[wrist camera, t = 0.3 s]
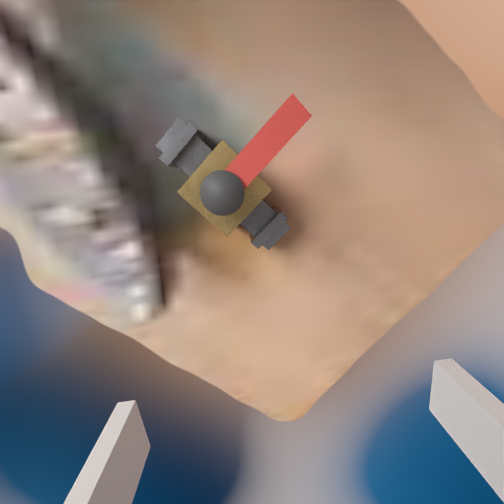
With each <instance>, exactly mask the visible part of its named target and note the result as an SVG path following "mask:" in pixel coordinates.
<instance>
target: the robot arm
mask: <svg viewBox="0 0 504 504" xmlns="http://www.w3.org/2000/svg"><path fill="white" fill-rule="evenodd" d="M429 409H430V411H431V412H432V413H433V415H434V416H435V417H436V418H437V420H438V421H439V422H440V423H441V425H442V426H443V427H444V428H445V430H446V431H447V432H448V433H449V435H450V436H451V437H452V438H453V440H454V441H455V442H456V443H457V444H458V446H459V447H460V448H461V450H462V451H463V452H464V453H465V455H466V456H467V457H468V458H469V459H470V461H471V462H472V463H473V465H474V466H475V467H476V468H477V470H478V471H479V472H480V473H481V474H482V476H483V477H484V478H485V480H486V481H487V482H488V483H489V485H490V486H491V487H492V488H493V490H494V491H495V492H496V493H497V495H498V496H499V497H500V498H501V500H502V501H503V502H504V404H503V403H502V402H501V401H499V400H498V399H497V398H496V397H495V396H494V395H493V394H492V393H490V392H489V391H488V390H487V389H486V388H485V387H484V386H482V385H481V384H480V383H479V382H478V381H477V380H475V379H474V378H473V377H472V376H471V375H470V374H469V373H468V372H466V371H465V370H464V369H463V368H462V367H461V366H459V365H458V364H457V363H456V362H455V361H454V360H453V359H444V360H436V361H434V368H433V377H432V387H431V397H430V406H429ZM149 449H150V444H149V440H148V438H147V434H146V431H145V428H144V425H143V423H142V419H141V416H140V413H139V410H138V407H137V404H136V401H135V400H134V401H126V402H119V403H117V405H116V407H115V409H114V411H113V413H112V414H111V416H110V418H109V420H108V422H107V424H106V426H105V428H104V429H103V431H102V433H101V435H100V437H99V439H98V441H97V443H96V444H95V446H94V448H93V450H92V452H91V454H90V456H89V457H88V459H87V461H86V463H85V465H84V467H83V468H82V470H81V472H80V474H79V476H78V478H77V480H76V482H75V483H74V485H73V487H72V489H71V491H70V493H69V495H68V497H67V498H66V500H65V502H64V504H132V501H133V498H134V495H135V492H136V488H137V486H138V482H139V480H140V477H141V474H142V470H143V468H144V464H145V461H146V458H147V455H148V452H149Z"/></svg>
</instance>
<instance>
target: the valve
mask: <svg viewBox="0 0 504 504" xmlns="http://www.w3.org/2000/svg"><path fill="white" fill-rule="evenodd" d="M204 137H205V136H204V135H203V134H202V133H201V132H200V131H199V130H198V129H197V128H196V127H195V126H194V125H193V124H192V123H191V122H190V121H189V122H188V123H187V124H185V123H184V122H183V121H181V120H180V119H179V118H177V120H176V121H175V122H174V123H173V125H172V126H171V127H170V128H169V130H168V131H167V132H166V133H165V135H164V136H163V137H162V138H161V140H160V141H159V142H158V143H157V145H156V147H158V148H159V149H160V150H161V151H162V152H163V154H162V155H161V156H160V158H159V159H160V160H161V161H163V162H164V163H165V164H166V165H167V166H170V167H178V168H180V169H181V170H182V171H183V172H185V173H186V174H187V175H188V176H189V177H190V178H189V179H188V180H187V181H186V182H185V184H184V185H183V186H182V187H181V188H180V189H179V191H178V192H177V193H179V194H180V195H181V196H182V197H183V198H184V199H185V200H186V201H187V202H189V203H190V204H191V205H192V206H193V207H194V208H195V209H196V210H198V211H199V212H200V213H201V214H202V215H203V216H204V217H205V218H206V219H208V220H209V221H210V222H211V223H212V224H213V225H214V226H215V227H217V228H218V229H219V230H220V231H221V232H222V233H223V234H224V235H225V236H227V237H228V236H229V235H230V234H231V233H232V232H233V231H234V230H235V229H236V227H237V226H238V225H239V224H241V225H242V226H243V227H244V228H245V229H246V230H247V231H248V232H249V233H250V238H251V243H252V244H253V245H254V246H256V247H257V248H258V249H259V248H260V247H261V246H262V245H264V246H265V247H266V248H267V249H268V250H269V249H270V248H271V247H272V246H273V245H274V244H275V243H276V242H277V241H278V240H279V239H280V238H281V237H282V236H283V235H284V234H285V233H286V232H287V231H288V230H289V229H290V228H291V227H290V226H289V225H288V224H287V223H286V222H285V221H286V220H287V219H288V217H287V216H286V215H285V214H284V213H282V212H281V211H280V210H279V209H278V208H277V207H275V208H274V209H272V208H271V207H270V206H269V205H268V204H267V203H265V202H264V201H263V199H264V198H265V197H266V196H267V195H268V194H269V193H270V192H271V190H272V189H271V188H270V187H269V186H268V185H267V184H266V183H265V182H264V181H263V180H262V179H261V178H260V177H259V176H258V175H257V176H256V177H255V178H254V179H253V180H252V182H251V183H250V184H249V185H248V186H247V187H246V188H245V189H244V192H245V196H244V201H243V203H242V205H241V207H240V208H239V209H238V210H237V211H236V212H234V213H233V214H230V215H227V216H219V215H215V214H213V213H211V212H210V211H208V210H207V209H206V208H205V207H204V205H203V203H202V201H201V198H200V186H201V183H202V181H203V180H204V178H205V177H206V176H207V175H208V174H210V173H212V172H214V171H217V170H225V169H226V168H227V167H228V166H229V165H230V164H231V162H232V161H233V160H234V159H235V158H236V157H237V156H238V155H237V154H236V153H235V152H234V151H233V150H232V149H231V148H230V147H229V146H228V145H227V144H226V143H225V142H224V141H223V140H221V142H220V143H219V144H218V145H217V146H216V147H215V149H214V150H213V151H212V150H211V149H210V148H209V147H208V146H207V145H206V144H205V143H204V142H203V141H202V139H203V138H204Z"/></svg>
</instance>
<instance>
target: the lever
mask: <svg viewBox="0 0 504 504" xmlns="http://www.w3.org/2000/svg"><path fill="white" fill-rule="evenodd" d="M311 116H312V115H311V114H310V113H309V112H308V111H307V110H306V109H305V107H304V106H303V105H302V104H301V103H300V102H299V100H298V99H297V98H296V97H295V96H294V95H293V94H292V95H291V96H290V97H289V98H288V99H287V100H286V101H285V102H284V104H283V105H282V106H281V107H280V108H279V109H278V110H277V111H276V113H275V114H274V115H273V116H272V117H271V118H270V119H269V121H268V122H267V123H266V124H265V125H264V126H263V127H262V128H261V130H260V131H259V132H258V133H257V134H256V135H255V136H254V137H253V139H252V140H251V141H250V142H249V143H248V144H247V145H246V147H245V148H244V149H243V150H242V151H241V152H240V153H239V154H238V156H237V157H236V158H235V159H234V160H233V161H232V162H231V164H230V165H229V166H228V167H227V168H226V169H225V170H217V171H214V172H212V173H210V174H208V175H207V176H206V177H205V178H204V180H203V181H202V183H201V186H200V198H201V201H202V203H203V205H204V207H205V208H206V209H207V210H208V211H210V212H211V213H213V214H215V215H219V216H227V215H230V214H233V213H234V212H236V211H237V210H238V209H239V208H240V207H241V205H242V203H243V201H244V196H245V192H244V189H245V188H246V187H247V186H248V185H249V184H250V183H251V182H252V180H253V179H254V178H255V177H256V176H257V175H258V174H259V173H260V172H261V171H262V170H263V168H264V167H265V166H266V165H267V164H268V163H269V162H270V161H271V160H272V159H273V158H274V156H275V155H276V154H277V153H278V152H279V151H280V150H281V149H282V148H283V147H284V146H285V144H286V143H287V142H288V141H289V140H290V139H291V138H292V137H293V136H294V135H295V134H296V133H297V131H298V130H299V129H300V128H301V127H302V126H303V125H304V124H305V123H306V122H307V121H308V119H309V118H310V117H311Z"/></svg>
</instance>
